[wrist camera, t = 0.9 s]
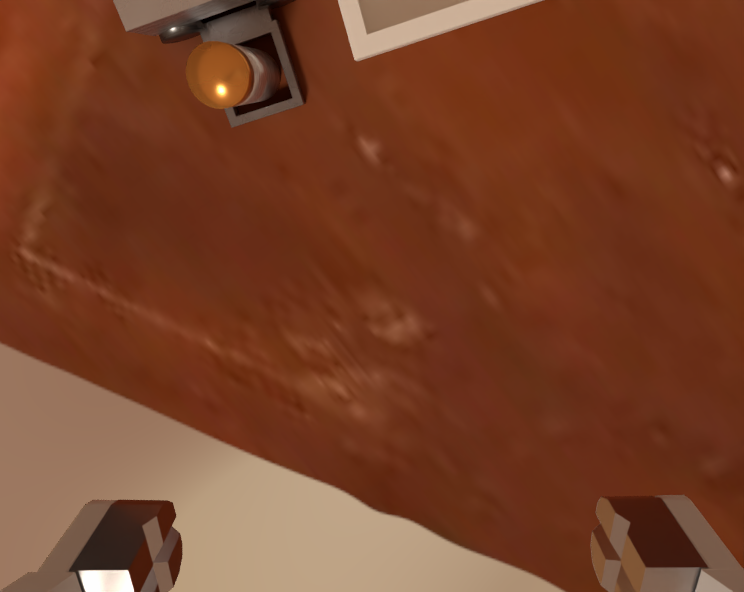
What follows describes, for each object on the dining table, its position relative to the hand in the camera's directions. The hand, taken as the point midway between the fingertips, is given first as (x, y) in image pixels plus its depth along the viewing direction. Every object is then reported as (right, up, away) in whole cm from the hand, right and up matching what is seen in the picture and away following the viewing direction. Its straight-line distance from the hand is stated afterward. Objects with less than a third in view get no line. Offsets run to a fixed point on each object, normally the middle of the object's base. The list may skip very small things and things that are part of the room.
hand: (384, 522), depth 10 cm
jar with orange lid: (-9, +20, +27) cm, 35 cm away
